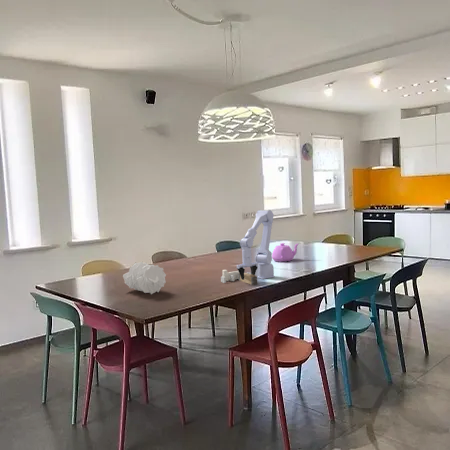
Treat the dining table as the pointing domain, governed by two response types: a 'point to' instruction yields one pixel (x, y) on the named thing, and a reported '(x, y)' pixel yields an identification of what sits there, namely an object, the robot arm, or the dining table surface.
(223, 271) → the white comb rack
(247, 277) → the rail
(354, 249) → the dining table surface
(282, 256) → the teapot
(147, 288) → the white faceted lump
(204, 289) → the dining table surface
